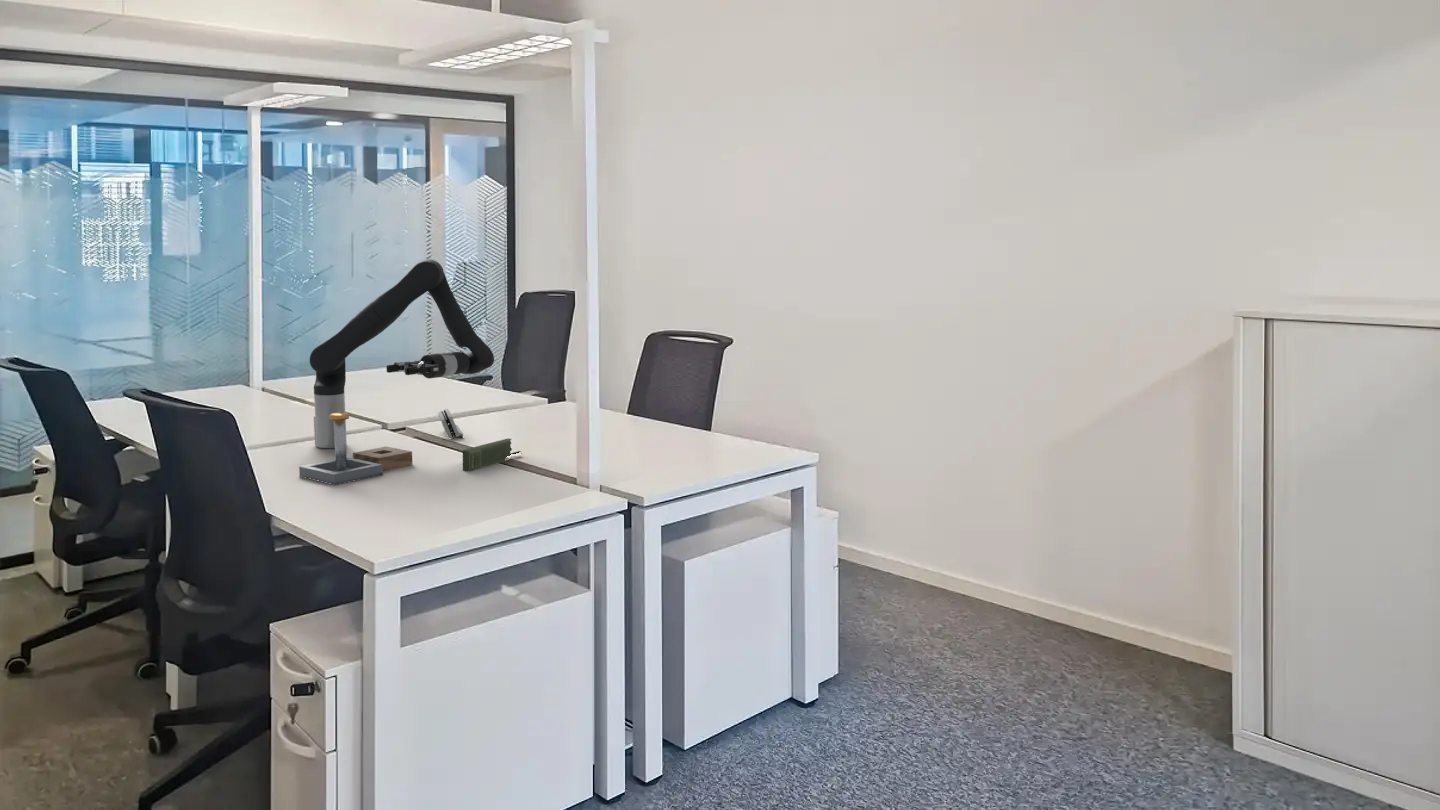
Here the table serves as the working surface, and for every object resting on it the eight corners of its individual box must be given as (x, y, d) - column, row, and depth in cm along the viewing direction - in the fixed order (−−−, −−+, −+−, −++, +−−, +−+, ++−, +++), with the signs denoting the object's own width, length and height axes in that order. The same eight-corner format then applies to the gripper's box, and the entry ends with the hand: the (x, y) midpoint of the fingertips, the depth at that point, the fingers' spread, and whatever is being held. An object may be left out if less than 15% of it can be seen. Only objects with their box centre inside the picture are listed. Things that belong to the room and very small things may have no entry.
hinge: (464, 438, 362) (453, 411, 359) (451, 443, 361) (440, 416, 358) (459, 429, 377) (448, 403, 375) (446, 434, 376) (435, 408, 373)
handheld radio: (460, 471, 315) (515, 456, 336) (469, 473, 313) (523, 457, 335) (460, 449, 313) (515, 435, 335) (469, 450, 312) (524, 436, 333)
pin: (327, 473, 305) (325, 414, 302) (343, 470, 309) (341, 412, 306) (339, 476, 302) (337, 416, 299) (354, 473, 306) (352, 414, 303)
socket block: (353, 465, 318) (352, 452, 318) (386, 459, 328) (386, 446, 327) (379, 471, 311) (378, 458, 311) (412, 464, 321) (412, 451, 321)
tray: (299, 476, 304) (299, 466, 303) (347, 467, 317) (347, 457, 316) (334, 485, 295) (334, 474, 294) (382, 474, 308) (382, 464, 307)
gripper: (423, 351, 337) (380, 356, 323) (454, 354, 329) (411, 359, 315) (423, 375, 338) (381, 380, 325) (454, 379, 330) (412, 384, 317)
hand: (396, 370), depth 320 cm, fingers open, 8 cm apart
